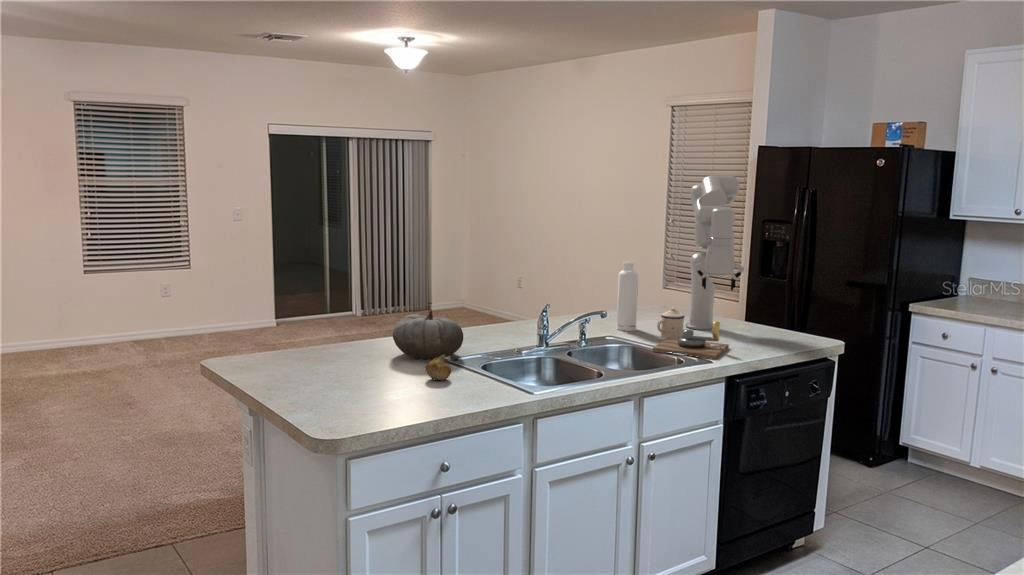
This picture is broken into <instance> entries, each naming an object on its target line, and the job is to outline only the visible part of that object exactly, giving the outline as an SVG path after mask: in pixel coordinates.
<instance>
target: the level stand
mask: <svg viewBox="0 0 1024 575" xmlns="http://www.w3.org/2000/svg"><path fill="white" fill-rule="evenodd" d="M729 347H730V346H729V344H728V343H720V342H714V341H706V343H705V346H703V347H686V346H681V345H679V344H678V338H670V337H669V338H665V339H664V340H662V341H661V342H659V343H658V344H656V345H655V346H653V347H652V352H653V353H654V352H655V353H660V354H661V353H662V354H665V353H664V352H672V353H681V354H687V355H692V356H698V357H697V358H700V357H706V358H705V359H708V358H712V359H711V360H717V359H718V358H720V357H721V355H723V354H724V353H725V352H726V351H727V350H728V349H729ZM722 353H723V354H722ZM692 356H691V357H692ZM716 358H717V359H716Z"/></svg>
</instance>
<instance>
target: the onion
mask: <svg viewBox="0 0 1024 575" xmlns="http://www.w3.org/2000/svg"><path fill="white" fill-rule="evenodd" d="M445 356H446V355H441V356H440V357H438V358H435V359H431V360H430V361H429V362H428V363H427V364H426V365H425V373H426V374H427V375H428V377H429V378H431V380H433V379H435V380H434V381H436V380H441V381H445V380H447V379H448V378H449V377H450V375H451V373H452V369H451V366H450V364H449V363H448V362H449V361H451V359H452V358H451V356H449V357H445ZM444 379H445V380H444Z"/></svg>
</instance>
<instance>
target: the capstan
mask: <svg viewBox="0 0 1024 575" xmlns="http://www.w3.org/2000/svg"><path fill="white" fill-rule="evenodd" d="M720 323H721V322H720V321H713V329H712V332H711V334H712V335H711V336H700V335H699V336H697V335H694V329H683V331H682V336H681V337H678V344H679V345H681V346H686V347H703V346H705V343H706V342H715V343H718V342H719V341H720V327H721V324H720Z"/></svg>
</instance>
